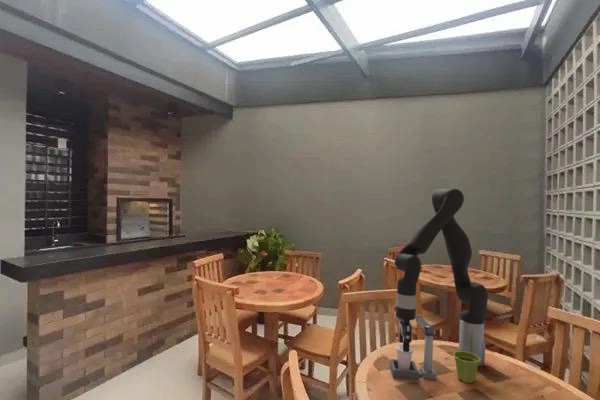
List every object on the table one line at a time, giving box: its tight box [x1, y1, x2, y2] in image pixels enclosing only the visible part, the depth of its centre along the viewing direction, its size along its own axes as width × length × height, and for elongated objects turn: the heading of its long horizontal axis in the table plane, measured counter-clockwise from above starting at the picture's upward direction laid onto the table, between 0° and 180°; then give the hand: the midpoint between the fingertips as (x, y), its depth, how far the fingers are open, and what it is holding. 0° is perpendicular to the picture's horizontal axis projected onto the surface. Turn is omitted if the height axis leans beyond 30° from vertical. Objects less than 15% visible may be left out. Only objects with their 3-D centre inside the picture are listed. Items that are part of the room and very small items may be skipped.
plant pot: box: [452, 350, 481, 384], centre depth 132 cm, size 9×9×9 cm
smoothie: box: [395, 336, 414, 370], centre depth 135 cm, size 6×6×14 cm
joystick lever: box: [414, 314, 435, 337], centre depth 140 cm, size 16×4×3 cm, turn 178°
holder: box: [389, 334, 437, 381], centre depth 135 cm, size 16×9×16 cm, turn 82°
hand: (404, 346), depth 135 cm, fingers open, 8 cm apart
